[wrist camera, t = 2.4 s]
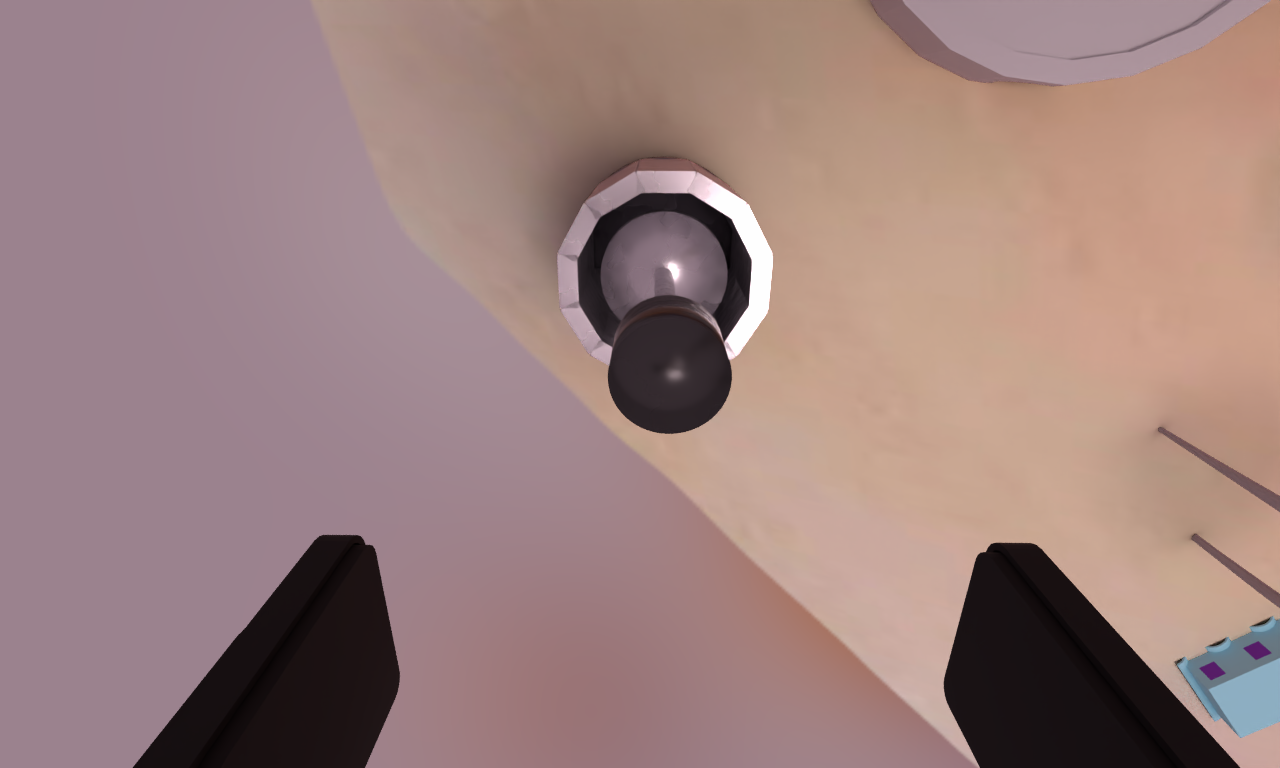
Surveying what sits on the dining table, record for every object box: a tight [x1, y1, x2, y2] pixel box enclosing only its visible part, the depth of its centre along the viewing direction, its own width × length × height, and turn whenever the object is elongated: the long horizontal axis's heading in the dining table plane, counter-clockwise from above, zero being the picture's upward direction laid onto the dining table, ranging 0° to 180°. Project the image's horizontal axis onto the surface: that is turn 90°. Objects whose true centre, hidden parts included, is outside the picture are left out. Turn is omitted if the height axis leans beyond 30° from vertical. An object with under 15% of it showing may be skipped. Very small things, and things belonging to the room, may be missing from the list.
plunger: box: [601, 210, 732, 434], centre depth 24 cm, size 6×6×13 cm
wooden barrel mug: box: [557, 157, 773, 365], centre depth 33 cm, size 13×10×9 cm
